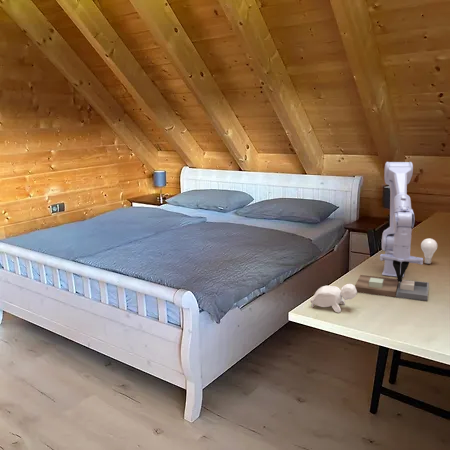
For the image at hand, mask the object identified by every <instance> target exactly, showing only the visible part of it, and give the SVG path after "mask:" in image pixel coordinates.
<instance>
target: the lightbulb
mask: <svg viewBox="0 0 450 450" xmlns="http://www.w3.org/2000/svg"><path fill="white" fill-rule="evenodd" d="M420 248H421V251H422V252H423V256H424V263H425V264H426V265H430V264H431V263H432V258H433V256H434V254H435V252H436V251H437V249H438V243H437V241H436V240H435V239H433V238H429V237H428V238H425V239H423V240H422V241H421V243H420Z"/></svg>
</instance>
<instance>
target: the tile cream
mask: <svg viewBox="0 0 450 450" xmlns="http://www.w3.org/2000/svg"><path fill="white" fill-rule="evenodd" d="M406 280H407V279H402V282H401V284H400V289H403V290H411V291H414V284H415V281H416V280H411V281H406Z"/></svg>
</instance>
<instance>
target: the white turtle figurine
mask: <svg viewBox="0 0 450 450" xmlns="http://www.w3.org/2000/svg"><path fill="white" fill-rule="evenodd" d="M357 294H358V293H357V290H356V287H355V284H352V283H346V284H344V285H343V286H342V287H341V288H340V287H338V286H336V285H323V286H320V287H319V288H318V289H317V290H316V291H315V293H314V294H313V297H312V298H311V299H310V300H309V301H310V304H311V307H312V308H313V307H315V306H318V307H321V308H330V307H331V308H332V309H333V311H334V312H335V313H336V312H338V313H337V314H341V311H342V309H341V307H340V305H342V306H343V305H345V304H346V302H345V301H348V300H352V299H354V298H355V297H356V296H357Z"/></svg>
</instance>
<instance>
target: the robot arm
mask: <svg viewBox="0 0 450 450" xmlns="http://www.w3.org/2000/svg"><path fill="white" fill-rule="evenodd" d="M413 171H414V164H413V162H412V161H409V162H408V161H386V162H385V164H384V172H383V173H384V176H383V178H384V179H383V180H384V183H385V185H387V186H389V191H390V192H389V194H390V197H389V200H390V201H389V226H388V227H387V228H386V229H384V230H383V232H382V235H381V250H382V251H383V252H384V253H381V254H379V261H384V266H383V271H382V273H381V276H389V277H395V278H396V279H397V280H398V282H402V280H403V278H404V277H405V272H406V271H407V269H408V267H409V264H418V265H424V264H423V263H424V258H423V257H417V256H413V255H411V243H412V231H413V228H414V225H415V213H414V209H413V208H412V201H411V200H412V199H411V197H410V195H408V194H407V193H408V190H407V189H408V184H410V182H411V179H412V177H413V174H414V173H413Z"/></svg>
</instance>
